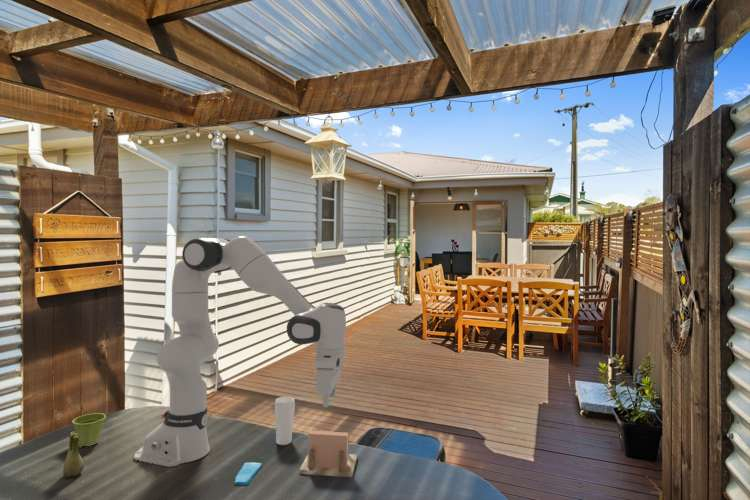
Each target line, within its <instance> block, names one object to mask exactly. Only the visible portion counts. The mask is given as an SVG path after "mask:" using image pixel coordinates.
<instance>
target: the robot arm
mask: <svg viewBox="0 0 750 500" xmlns="http://www.w3.org/2000/svg"><path fill="white" fill-rule="evenodd" d="M181 255H182V259H181V260H179V261H178V262H177V263H176V264H175V266H174V270H173V276H172V285H171V317H172V319H174V321H176V323H177V325H178V329H179V330H178V331H179V335H180V336H177V337H174V338H171V339H170V340H169V341H167V342H166V343H164V344H163V345H161V347H160V348H159V349H158V351H157V353H156V361H157V365H158V367H159V368H160V369H161V370H162V371H163V372H164V373H165V376H166V379H167V382H168V386H169V408H168V410H167V411H165V412H164V413H163V414H162V415H160V416H161V418H160V419H161V420H162V419H164V420H163V422H162V423H160V424H159V425H157V426H156V427H155V428H154V429H152V430H151V431H150V432H149V433H148V434H147V435H146V436H145V438H144V440H143V444H142V447H140V449H138V450H137V451H136V452H135V453H134V456H133V460H134V459H135V460H134V461H137V460H139V461H138V462H142V461H143V463H147V462H148V463H147V464H152V463H153V465H158V466H164V467H168V468H169V467H171V468H173V467H176V466H179V465H182V464H185V462H186V463H190V462H194V461H196V460H199V459H202V458H204V457H205V456H206V455H207V454H209V452H210V451H211V447H210V445H209V439H208V433H207V432H208V431H207V423H208V407H207V393H208V392H207V390H208V389H207V388H208V387H207V386H208V385H207V382H206V381H205V380H204V379H203V378H202V374H201V368H200V367H201V364H203V363H205V362H207V361H209V360H210V359H211V358H212V357H213V356H214V355H216V352H217V351H218V350H219V346H220V345H219V339H218V337H217V335H216V334H215V333H214V331H213V328H212V325H211V322H210V316H209V315H210V313H209V279H210V276H211V274H213V273H214V274H219V273H221V272H225V271H228V270H230V269H232V270H234V271H235V273H236V275H238V277H239V278H240V279H241V281H242V282H243V283H244V284H245V285H246V286H247V287H248V288H250V289H251V290H252V291H254V292H256V293H260V294H265V295H268V296H271V297H274V298H277V299H278V300H279V301H281V302H282V303H283V304H284V305H285V306H286V307H287V309H288V310H290V311H291V313H293V316H292V317H291V318H290V319H289V320H288V322H287V324H286V334H287V337H288V339H289V340H290V341H291V342H293V343H294V344H295V345H308V344H316V354H315V360H314V369H316V373H315V376H316V377H315V379H316V393H317V395H318V396H321V399H322V407H323V408H328V407H329V406H330V405H331V404H330V398H334V397H335V396H336V391H337V390H336V389H337V383H338V382H339V380H340V379H341V375H342V368H341V367H342V364H344V363H345V362H346V343H345V337H346V333H347V318H346V312H345V309H344V307H343V306H341V305H339V304H338V303H334V302H321V303H320V304H319V305H318V306H314V305H313V304H312V303H310V302H309V301H308V299H306V297H305V296H304V295H303V294H302V293H301V292H300V291H299V290H298V289H297V287H296V286H294V285H293V284H292V283H291V282H290V281H289V280H288V279H287V277H286V276H285V275H284V274H283V273H282V271H280V269H279V268H278V267H277V265H276V264H275V263H274V262H273V260H272V259H271V257H269V255H268V254H267V253H266V252H265V251H264V250H263V249H262V248H261V247H260V246H259V245H258V244H257V243H256V242H254V240H252V239H251V238H249V236H246V235H240V236H235V237H234V238H232V239H231V240H230V239H225V238H220V237H196V238H193V239H191V240H188V242H186V244H184V246H183V249H182V252H181ZM181 463H182V464H181ZM172 466H173V467H172Z"/></svg>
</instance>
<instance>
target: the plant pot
mask: <svg viewBox="0 0 750 500" xmlns="http://www.w3.org/2000/svg"><path fill="white" fill-rule="evenodd" d="M106 417H107V416H106V414H105V413H101V412H97V413H88V414H84V415H79V416H77V417H75V418H73V419H72V421H71V422H72V424H73V426H74V428H75V434H76V433H78V437H79V446H87V445H91V444H94V443H96V442H97V441H99V442H100V440H101V433H102V427H103V424H104V422H105V419H106ZM99 439H100V440H99Z"/></svg>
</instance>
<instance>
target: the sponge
mask: <svg viewBox="0 0 750 500" xmlns="http://www.w3.org/2000/svg"><path fill="white" fill-rule="evenodd" d="M262 466H263V463H261V462H252V461H250V462H244V464H243V465H242V466H241V468H240V470H239V471H238V473H237V474H236V476H235V477H234V486H248V485H249V484H250V483H251V482H252V481H253V479H254V477H255V476H256V474H257V473H258V472H259V471H260V469H261V468H262Z"/></svg>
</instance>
